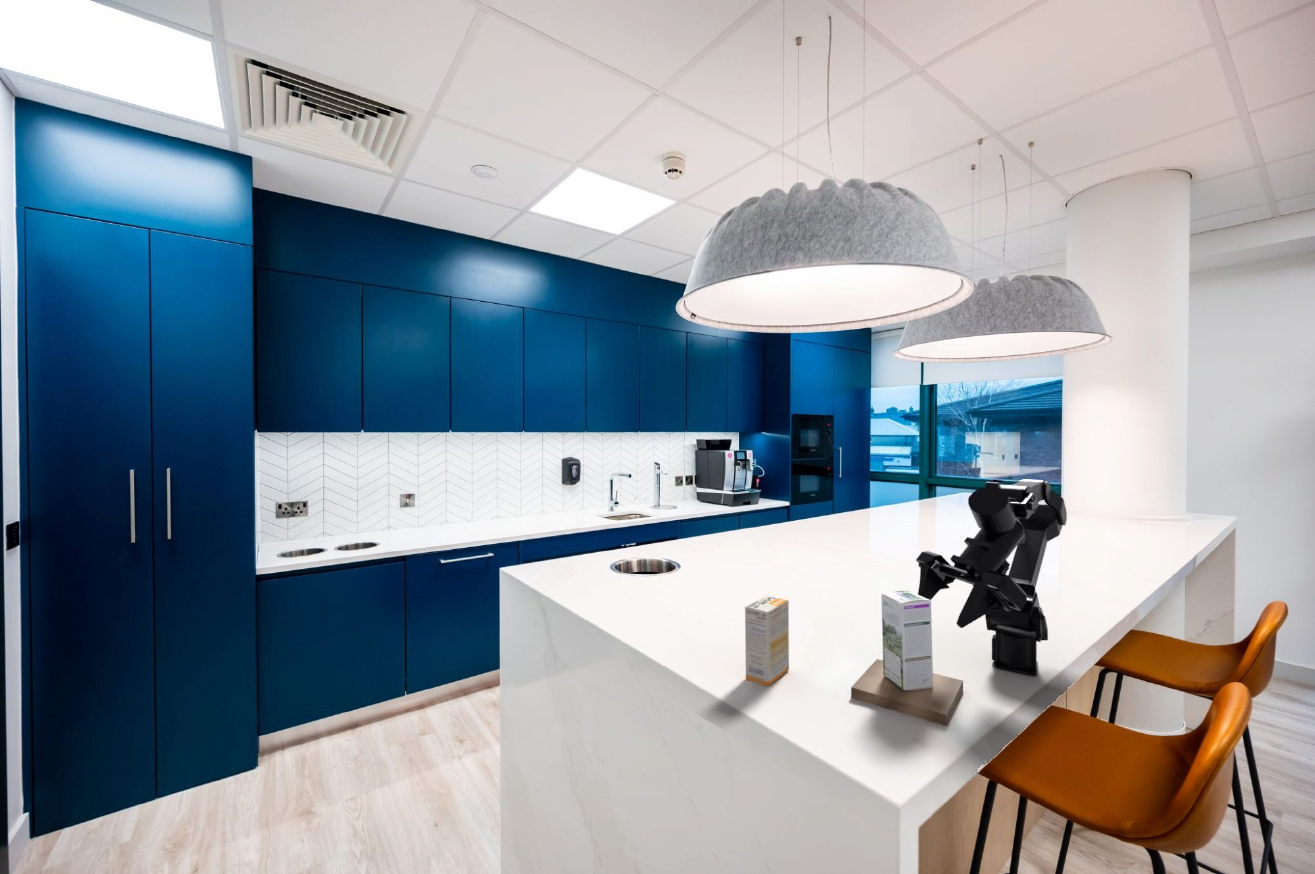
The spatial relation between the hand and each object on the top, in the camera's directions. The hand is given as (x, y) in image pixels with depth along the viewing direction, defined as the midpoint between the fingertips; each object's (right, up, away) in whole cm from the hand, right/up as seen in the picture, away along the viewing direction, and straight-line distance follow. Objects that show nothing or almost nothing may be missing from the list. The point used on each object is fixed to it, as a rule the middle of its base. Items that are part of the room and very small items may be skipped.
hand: (937, 616), depth 90 cm
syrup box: (-5, -11, 0) cm, 12 cm away
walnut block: (-5, -13, -1) cm, 14 cm away
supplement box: (-27, -13, +7) cm, 31 cm away
